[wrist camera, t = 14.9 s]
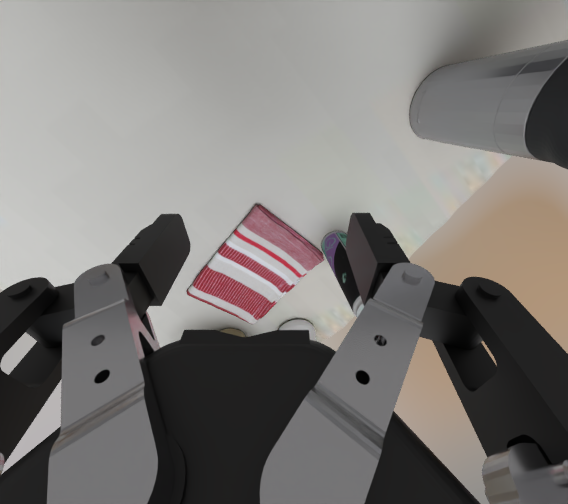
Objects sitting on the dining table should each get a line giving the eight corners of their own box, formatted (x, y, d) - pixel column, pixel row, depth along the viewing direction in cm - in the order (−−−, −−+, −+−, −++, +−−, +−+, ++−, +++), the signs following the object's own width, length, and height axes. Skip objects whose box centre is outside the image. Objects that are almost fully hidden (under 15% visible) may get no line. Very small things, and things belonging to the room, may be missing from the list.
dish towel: (324, 251, 46) (328, 259, 44) (252, 319, 54) (253, 329, 52) (256, 200, 39) (257, 206, 37) (185, 287, 47) (182, 297, 44)
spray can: (318, 235, 43) (361, 317, 26) (347, 226, 43) (408, 303, 26) (323, 258, 46) (365, 344, 29) (350, 250, 46) (407, 333, 29)
